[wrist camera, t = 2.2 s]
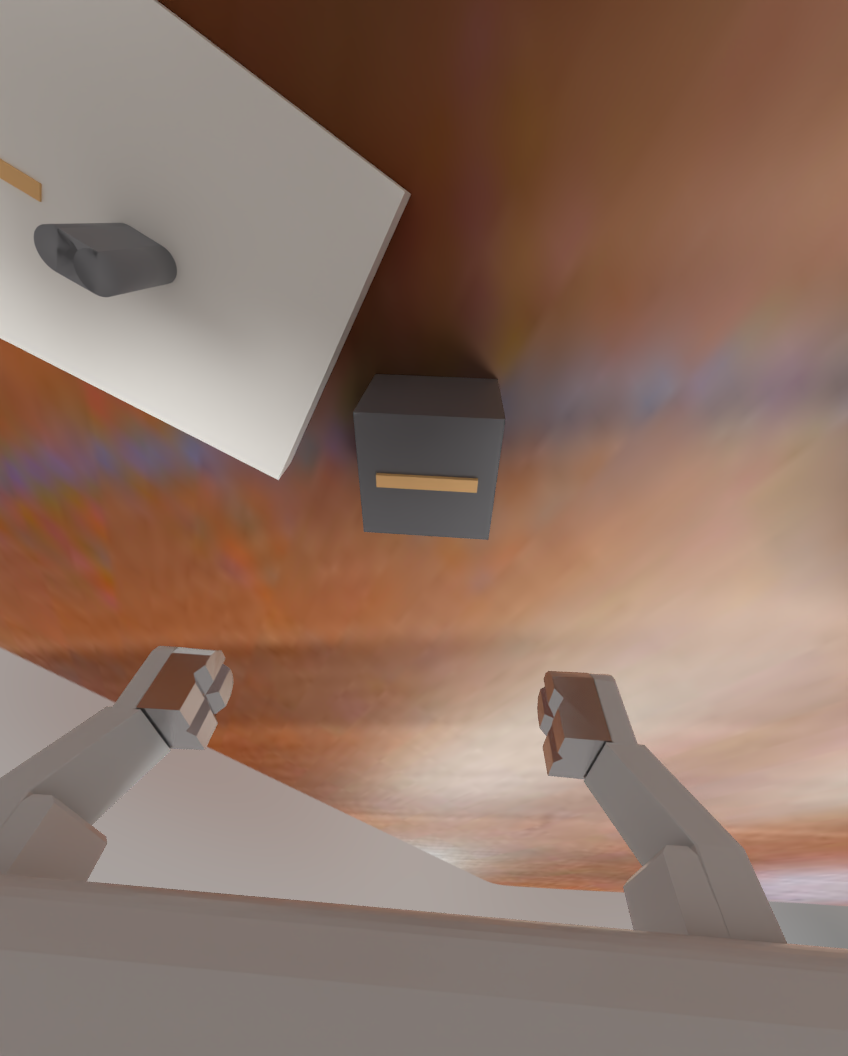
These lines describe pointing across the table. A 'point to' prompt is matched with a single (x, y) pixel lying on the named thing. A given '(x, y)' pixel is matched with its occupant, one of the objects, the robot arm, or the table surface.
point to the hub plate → (177, 224)
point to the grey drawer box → (429, 454)
